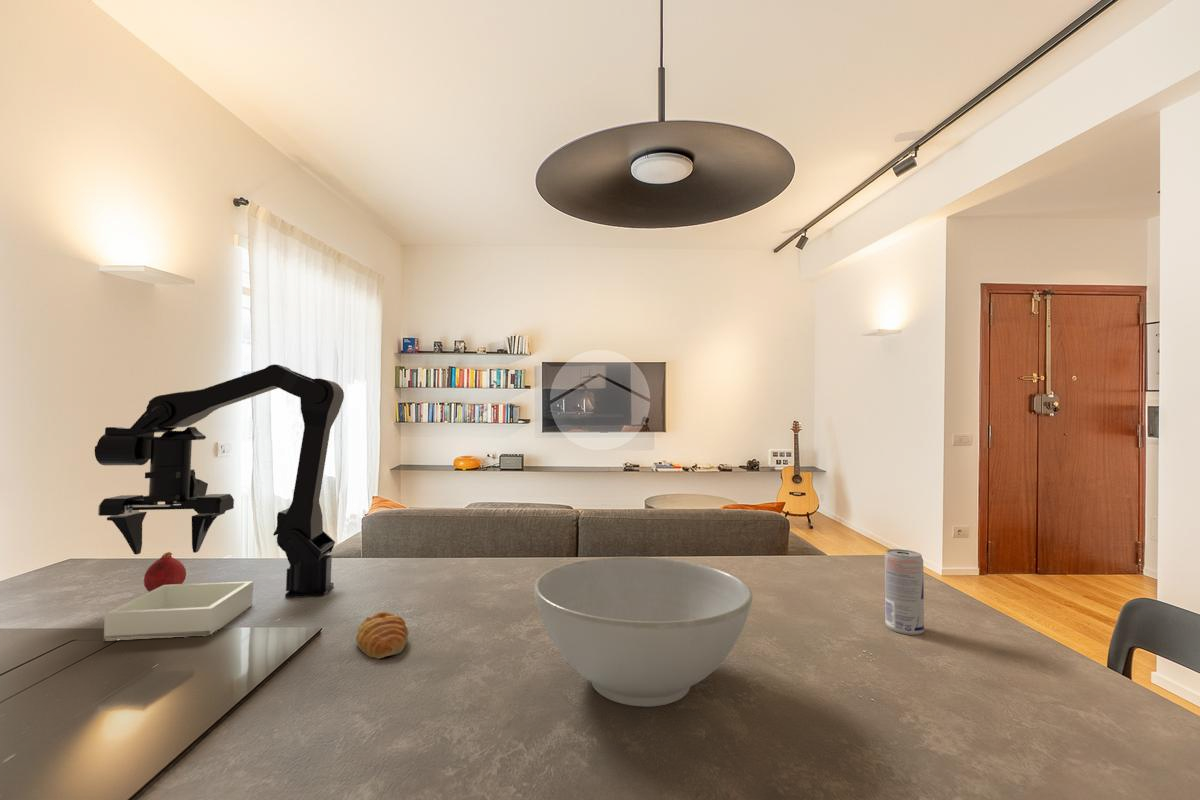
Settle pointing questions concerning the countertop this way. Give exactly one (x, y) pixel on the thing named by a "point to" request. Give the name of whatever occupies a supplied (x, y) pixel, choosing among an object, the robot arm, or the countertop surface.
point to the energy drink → (904, 591)
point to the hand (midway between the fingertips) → (167, 553)
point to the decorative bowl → (642, 623)
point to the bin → (180, 610)
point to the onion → (164, 572)
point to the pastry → (382, 635)
